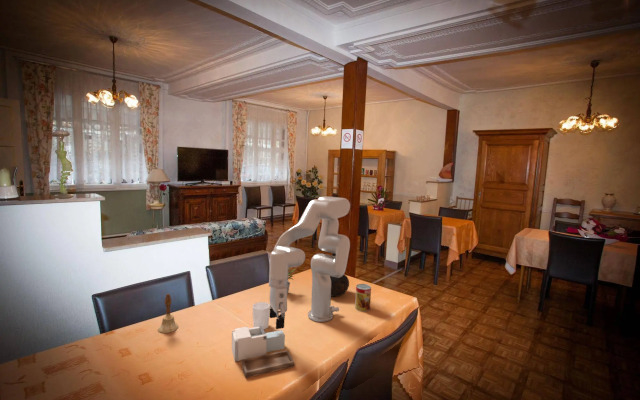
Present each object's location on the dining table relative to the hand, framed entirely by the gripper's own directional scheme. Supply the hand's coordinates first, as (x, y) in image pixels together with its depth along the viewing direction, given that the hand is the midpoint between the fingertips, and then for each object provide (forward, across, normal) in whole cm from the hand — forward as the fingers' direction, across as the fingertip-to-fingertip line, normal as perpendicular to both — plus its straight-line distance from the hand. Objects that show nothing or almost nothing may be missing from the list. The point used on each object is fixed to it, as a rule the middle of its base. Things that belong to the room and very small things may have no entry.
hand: (276, 322), depth 126 cm
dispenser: (+11, +1, +11) cm, 15 cm away
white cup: (+11, +19, +2) cm, 22 cm away
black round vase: (+9, +43, -47) cm, 65 cm away
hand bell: (+12, +31, +41) cm, 52 cm away
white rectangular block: (+11, +1, +4) cm, 12 cm away
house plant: (+10, +51, -19) cm, 55 cm away
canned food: (+9, +20, -53) cm, 58 cm away
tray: (+11, -10, +6) cm, 16 cm away
